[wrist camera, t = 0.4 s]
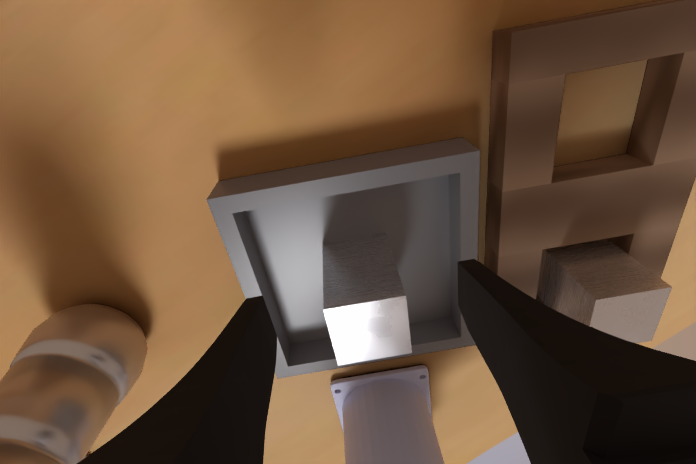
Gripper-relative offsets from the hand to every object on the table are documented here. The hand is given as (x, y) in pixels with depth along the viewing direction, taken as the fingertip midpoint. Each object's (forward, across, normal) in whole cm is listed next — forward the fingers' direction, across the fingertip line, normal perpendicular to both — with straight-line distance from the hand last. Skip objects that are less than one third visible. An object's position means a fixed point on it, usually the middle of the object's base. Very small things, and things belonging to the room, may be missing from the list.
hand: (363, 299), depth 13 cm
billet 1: (+9, 0, +5) cm, 10 cm away
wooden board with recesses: (+10, -14, +3) cm, 17 cm away
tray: (+10, 0, +5) cm, 11 cm away
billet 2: (+10, -14, +8) cm, 19 cm away
